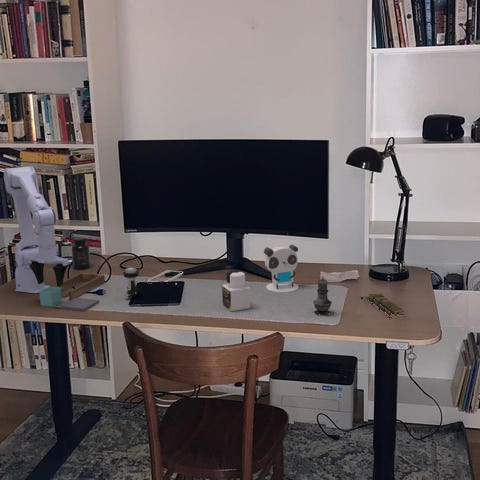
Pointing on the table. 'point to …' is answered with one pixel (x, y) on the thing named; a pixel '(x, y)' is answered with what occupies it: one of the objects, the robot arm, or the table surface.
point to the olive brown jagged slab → (384, 304)
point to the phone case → (164, 273)
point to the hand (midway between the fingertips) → (50, 284)
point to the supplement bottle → (80, 254)
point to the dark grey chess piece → (322, 299)
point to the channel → (91, 280)
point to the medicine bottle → (236, 291)
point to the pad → (79, 304)
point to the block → (50, 296)
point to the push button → (131, 281)
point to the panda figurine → (281, 268)
